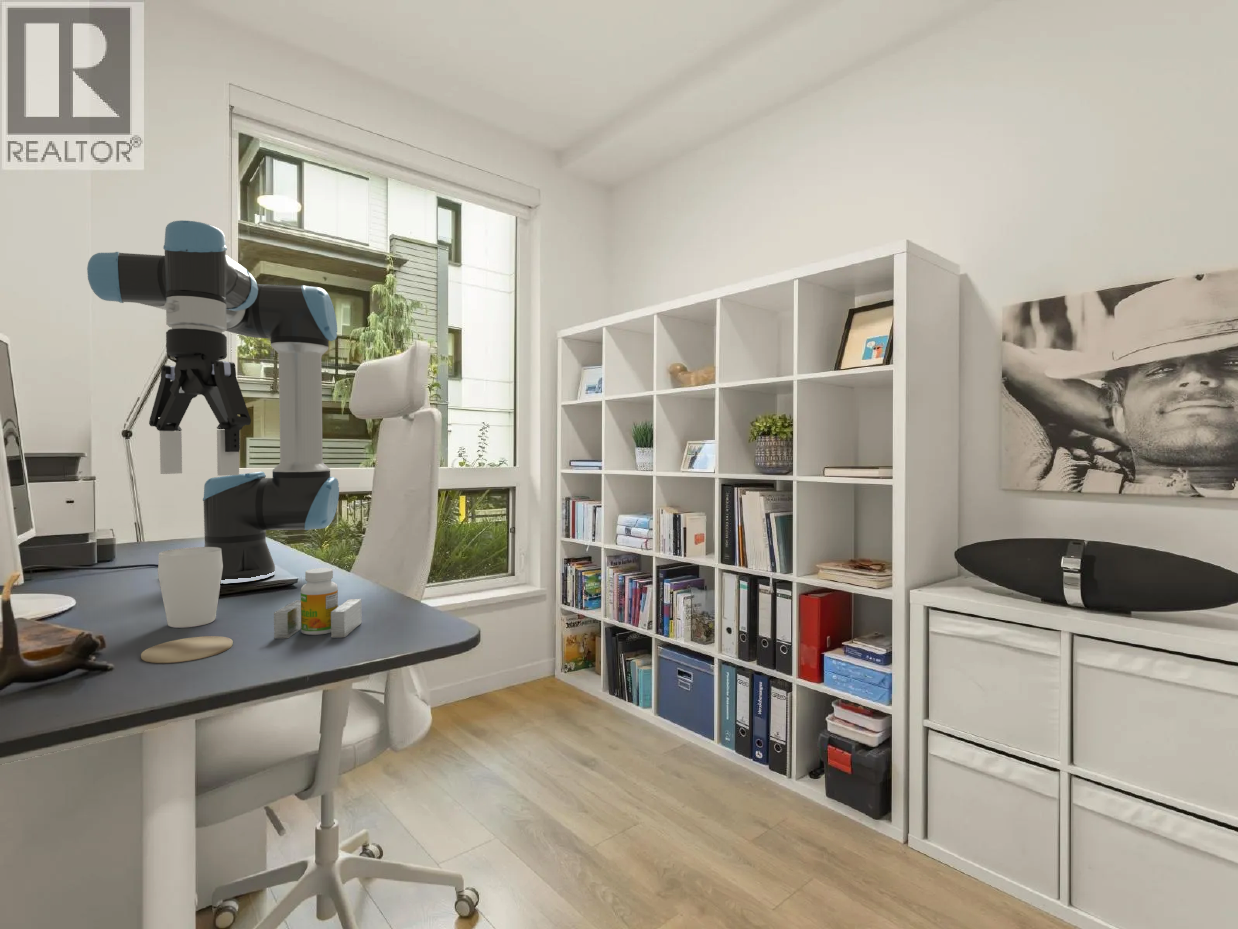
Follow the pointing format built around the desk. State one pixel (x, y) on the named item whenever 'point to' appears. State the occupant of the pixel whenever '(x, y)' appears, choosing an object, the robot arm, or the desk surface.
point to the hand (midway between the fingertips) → (199, 474)
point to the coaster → (186, 649)
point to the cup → (190, 585)
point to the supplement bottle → (318, 601)
